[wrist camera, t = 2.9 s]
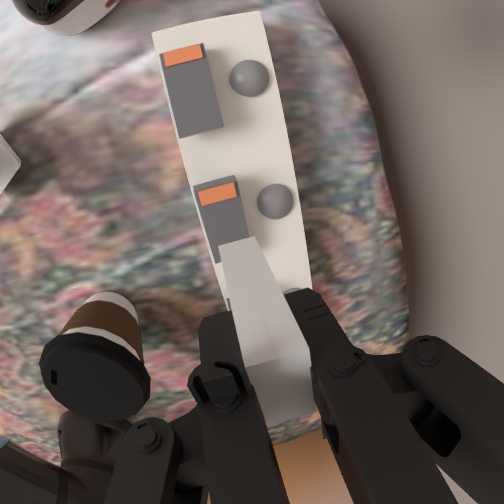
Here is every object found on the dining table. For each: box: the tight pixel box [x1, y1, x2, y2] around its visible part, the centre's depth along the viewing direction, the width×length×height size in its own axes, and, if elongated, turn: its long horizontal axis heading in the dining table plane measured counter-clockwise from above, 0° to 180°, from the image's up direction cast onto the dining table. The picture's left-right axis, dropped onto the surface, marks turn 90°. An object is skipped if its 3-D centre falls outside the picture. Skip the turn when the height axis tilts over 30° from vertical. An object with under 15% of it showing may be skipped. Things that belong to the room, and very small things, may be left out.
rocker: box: [193, 175, 249, 264], centre depth 26 cm, size 7×3×1 cm, turn 11°
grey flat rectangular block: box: [159, 43, 224, 139], centre depth 21 cm, size 7×3×1 cm, turn 12°
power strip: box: [152, 11, 312, 311], centre depth 31 cm, size 42×9×4 cm, turn 12°
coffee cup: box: [39, 291, 151, 421], centre depth 29 cm, size 11×11×12 cm
